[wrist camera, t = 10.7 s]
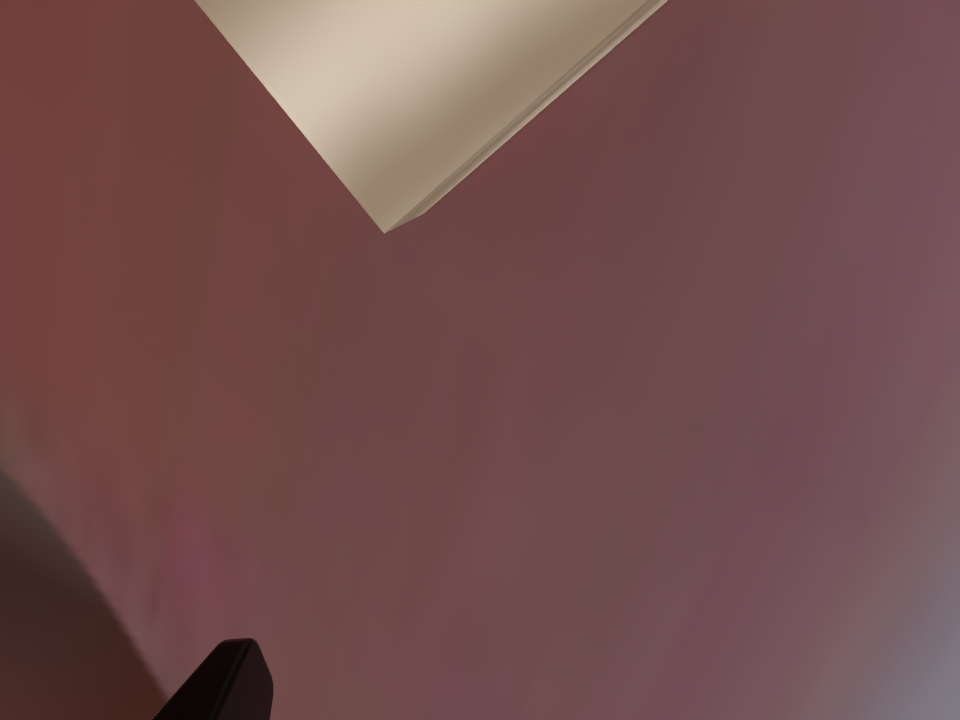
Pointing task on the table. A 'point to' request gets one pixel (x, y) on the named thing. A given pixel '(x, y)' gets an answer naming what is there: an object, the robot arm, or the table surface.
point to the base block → (418, 80)
